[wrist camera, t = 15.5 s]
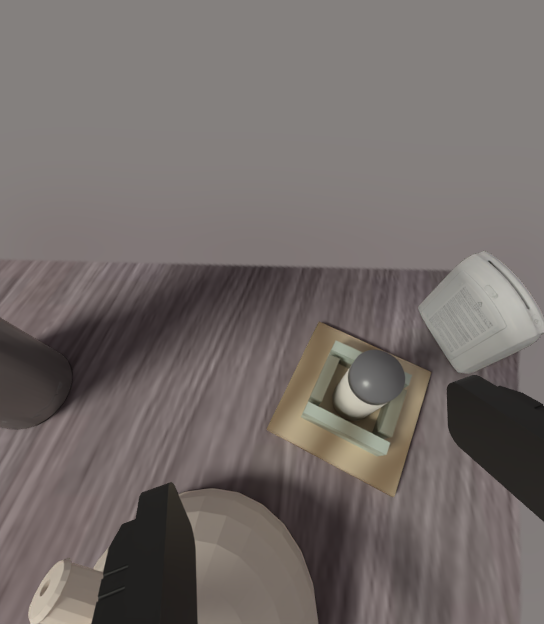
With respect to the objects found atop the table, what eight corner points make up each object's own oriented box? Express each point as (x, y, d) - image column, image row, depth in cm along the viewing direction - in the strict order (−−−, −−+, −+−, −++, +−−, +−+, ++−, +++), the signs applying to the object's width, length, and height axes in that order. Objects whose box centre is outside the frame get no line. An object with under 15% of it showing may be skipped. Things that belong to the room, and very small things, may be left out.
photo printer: (488, 367, 39) (574, 325, 28) (457, 380, 39) (534, 341, 28) (439, 296, 44) (498, 235, 33) (411, 306, 43) (461, 247, 32)
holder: (266, 429, 36) (266, 424, 32) (317, 324, 42) (322, 310, 38) (390, 496, 33) (405, 498, 30) (427, 374, 39) (443, 364, 35)
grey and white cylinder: (325, 408, 36) (343, 385, 27) (341, 373, 38) (363, 341, 29) (363, 428, 35) (395, 411, 26) (378, 391, 37) (412, 364, 28)
